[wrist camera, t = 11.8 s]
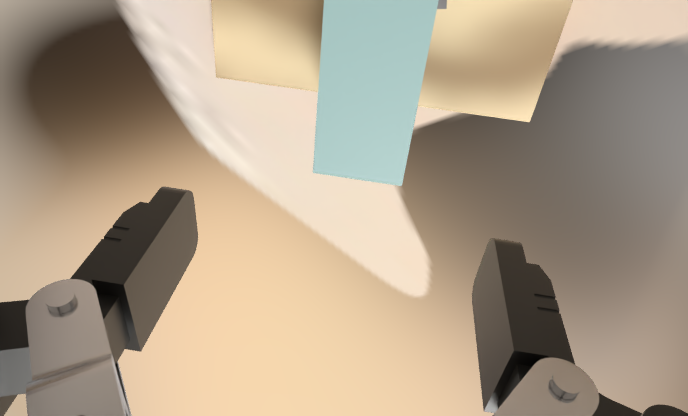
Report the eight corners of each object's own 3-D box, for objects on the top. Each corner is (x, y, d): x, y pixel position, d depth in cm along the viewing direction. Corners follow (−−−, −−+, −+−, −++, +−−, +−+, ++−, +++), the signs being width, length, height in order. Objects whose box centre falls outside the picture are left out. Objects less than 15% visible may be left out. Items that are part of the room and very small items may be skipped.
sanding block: (345, -52, 24) (325, -24, 19) (437, -40, 23) (440, -9, 19) (331, 118, 29) (313, 172, 24) (405, 128, 29) (401, 186, 24)
